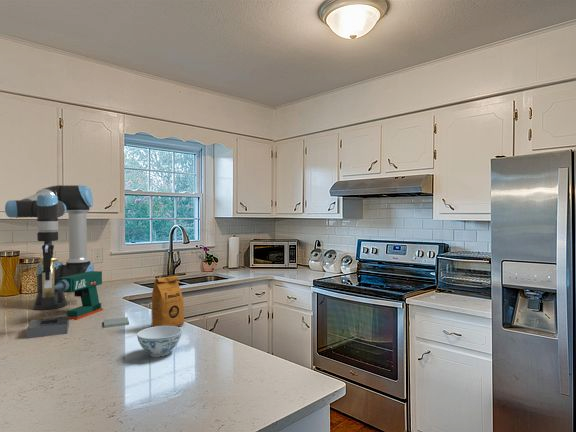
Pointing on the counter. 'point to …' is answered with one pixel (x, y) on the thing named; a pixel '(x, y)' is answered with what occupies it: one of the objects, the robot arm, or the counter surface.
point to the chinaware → (159, 339)
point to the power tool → (82, 292)
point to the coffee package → (167, 303)
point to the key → (51, 291)
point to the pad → (116, 322)
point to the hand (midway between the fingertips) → (48, 286)
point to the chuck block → (48, 327)
